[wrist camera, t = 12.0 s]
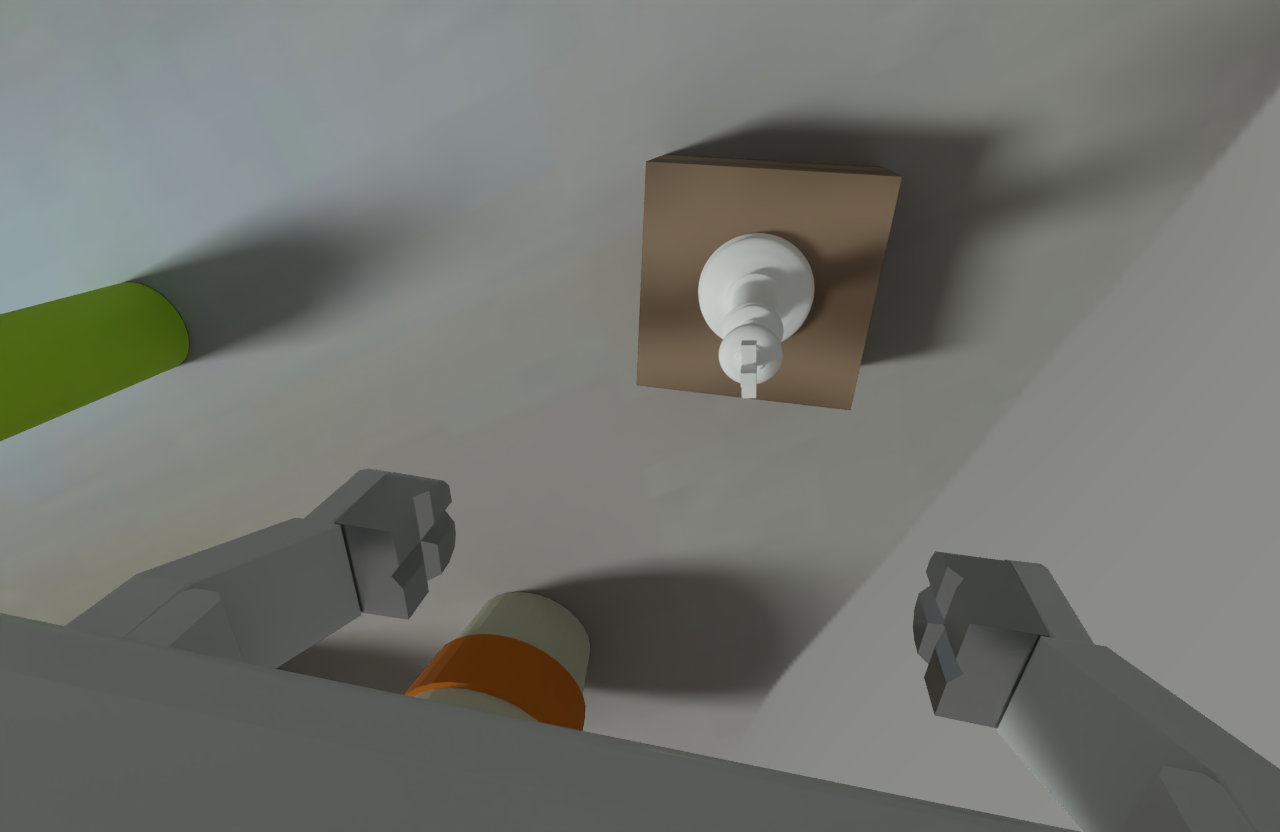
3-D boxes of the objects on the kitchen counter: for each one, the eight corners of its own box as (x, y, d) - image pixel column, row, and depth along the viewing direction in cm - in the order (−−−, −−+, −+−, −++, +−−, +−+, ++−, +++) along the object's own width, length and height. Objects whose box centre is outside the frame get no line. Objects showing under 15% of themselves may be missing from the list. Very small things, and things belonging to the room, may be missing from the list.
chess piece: (816, 229, 25) (842, 293, 16) (811, 344, 27) (832, 457, 18) (696, 235, 26) (657, 298, 17) (700, 346, 28) (668, 453, 19)
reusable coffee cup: (646, 636, 43) (592, 863, 30) (563, 719, 49) (488, 940, 36) (497, 542, 42) (373, 736, 29) (430, 639, 48) (302, 837, 35)
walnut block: (664, 154, 29) (646, 161, 25) (881, 166, 28) (902, 176, 23) (654, 350, 34) (636, 385, 29) (839, 369, 32) (850, 410, 28)
